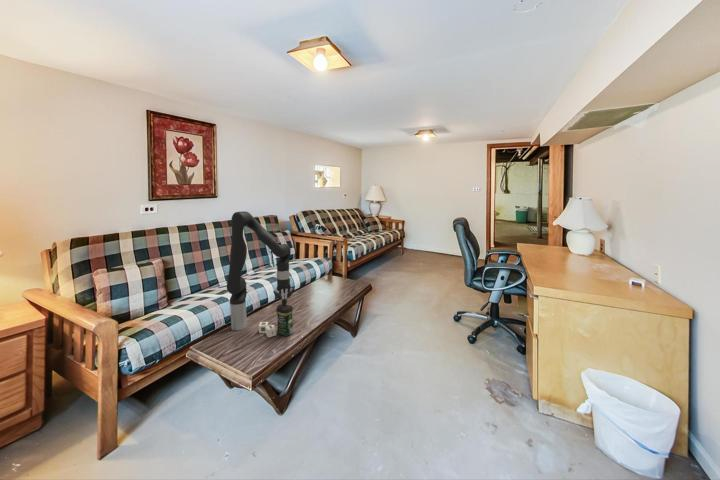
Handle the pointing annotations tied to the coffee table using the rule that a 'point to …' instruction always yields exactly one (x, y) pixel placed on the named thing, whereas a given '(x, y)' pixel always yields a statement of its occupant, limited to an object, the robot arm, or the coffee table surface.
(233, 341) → the coffee table surface
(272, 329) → the marked block
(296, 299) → the coffee table surface
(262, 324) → the marked block
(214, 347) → the coffee table surface
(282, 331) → the coffee jar
